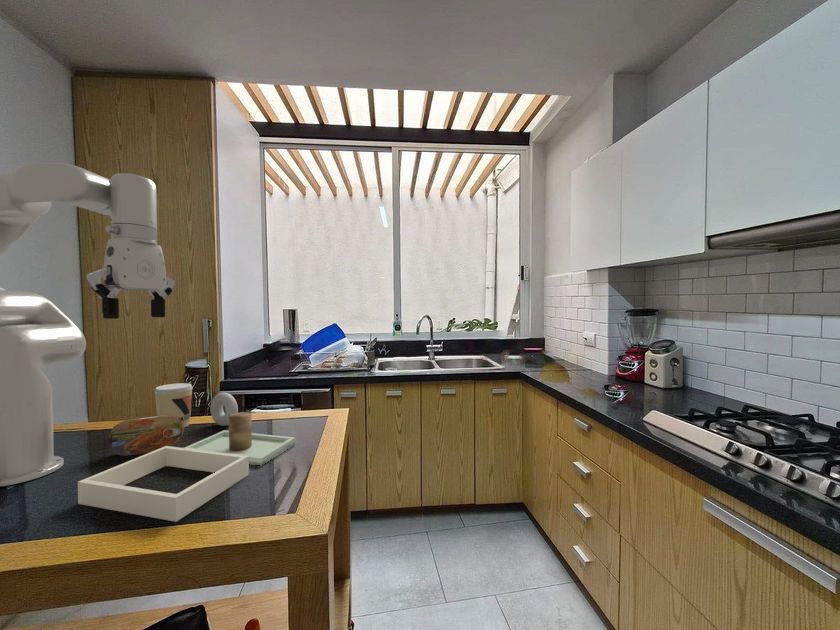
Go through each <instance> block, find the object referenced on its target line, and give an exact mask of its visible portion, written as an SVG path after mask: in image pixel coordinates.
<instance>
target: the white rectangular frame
mask: <svg viewBox="0 0 840 630" xmlns="http://www.w3.org/2000/svg"><path fill="white" fill-rule="evenodd" d="M164 467H173V468H179V469H185V470H186V469H187V470H194V471H203V472H207V473H208V472H210V473H211V474H209V475H208V476H206V477H204V478H203V479H201V480H199V481H197V482H194V484H192V485H190V486H189V487H187V488H185V489H183V490H181V491H179V492H177V493H173V492H166V491H159V490H153V489H148V488H147V489H146V488H141V487H135V486H128V485H127V484H129V483H131V482H134V481H136V480H139V479H141V478H143V477H144V476H146V475H149V474H151V473H153V472H155V471H157V470H160V469H162V468H164ZM214 472H215V473H214ZM249 474H250V465H249V456H245V455H237V454H228V453H220V452H212V451H204V450H195V449H187V448H185V447H178V446H174V447H171V446H165V447H162V448H160V449H157V450H155V451H152V452H149V453H144V454H143V455H140V456H138V457H135V458H134V459H133V458H132V459H131V460H128V461H125V462H124V463H121V464H118V465H116V466H114V467H110V468H108V469H106V470H104V471H101V472H99V473H96V474H94V475H91V476H89V477H87V478H83V479H81V480H79V481H77V504H78V505H83V506H89V507H94V508H99V509H105V510H111V511H117V512H121V513H127V514H131V515H137V516H142V517H143V516H144V517H148V518H149V517H150V518H154V519H158V520H165V521H169V522H170V521H171V522H175V523H176V522H178V521H180V520H181V519H183V518H184V517H186V516H187V515H189V514H191V513H193V512H194V511H195V510H197V509H198V508H200V507H201V506H203V505H204V504H206V503H208V502H209V501H210V500H213V498H215V497H217V496H218V495H220V494H221V493H223V492H224V491H226V490H228V489H229V488H231V487H232V486H234V485H236V484H237V483H238V482H240V481H241V480H243V479H245V478H247V476H249Z"/></svg>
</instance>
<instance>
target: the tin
mask: <svg viewBox="0 0 840 630" xmlns="http://www.w3.org/2000/svg"><path fill="white" fill-rule="evenodd" d="M184 431H185V427H183V424H182V422H181V421H180V420H179V419H178V418H177V417H174V416H171V415H164V416H157V415H156V416H148V417H139V418H131V419H126V420H124V421H121V422H119V423H117V424H116V425H114V426H113V427H112V428H111V429H110V430H109V432H108V434H107V438H106V443H107V447H108V449H109V450H110V451H111V452H113V453H114V454H116V455H118V456H123V457H127V456H128V455H129V456H135V455H142V454H147V453H150V452H152V451H155V450H157V449H160V448H162V447H165V446H171V447H176V445H177V444H178V443H179V442H180V441H181V439H182V437H183V435H184Z"/></svg>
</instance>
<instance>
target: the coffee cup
mask: <svg viewBox="0 0 840 630" xmlns="http://www.w3.org/2000/svg"><path fill="white" fill-rule="evenodd" d="M193 389H194V388H193V385H192V383H188V382H183V383H182V382H178V383H169V384H163V385H159V386H156V387H155V389H154V397H155V398H154V400H155V408H156V416H164V415H171V416H174V417H177V418H178V419H179V420H180V421H181V422H182V424H183V427H184V428H186V427H188V426H190V423H191V415H192V414H191V412H192V400H193V399H192V397H193Z"/></svg>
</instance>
